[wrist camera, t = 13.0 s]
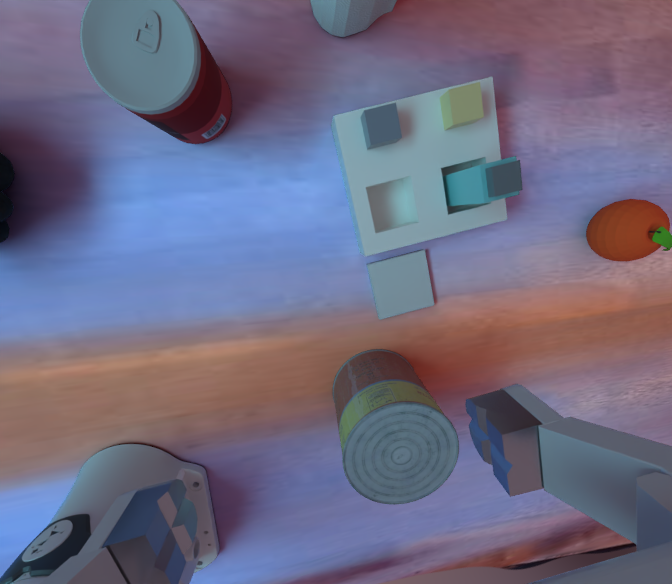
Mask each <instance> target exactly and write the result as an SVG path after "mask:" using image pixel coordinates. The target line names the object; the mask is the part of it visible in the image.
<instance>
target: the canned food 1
mask: <svg viewBox="0 0 672 584" xmlns="http://www.w3.org/2000/svg"><path fill="white" fill-rule="evenodd" d="M80 40H81V49H82V53H83V57H84V60H85V63H86V65H87V68H88V70H89V72H90V74H91V75H92V77H93V78H94V80H95V82H96V83H97V84H98V85H99V86H100V88H101V89H102V90H103V91H104V92H105V93H106V94H107V95H108V96H110V97H111V98H112V99H113V100H114V101H116V102H117V103H118V104H120V105H121V106H123V107H125V108H126V109H127V110H129V111H131V112H132V113H134V114H136V115H138V116H139V117H141V118H143V119H144V120H146V121H148V122H149V123H151V124H153V125H155V126H156V127H158V128H160V129H161V130H163V131H165V132H166V133H168V134H170V135H171V136H173V137H175V138H177V139H179V140H180V141H183V142H186V143H192V144H199V143H205V142H208V141H211V140H213V139H215V138H216V137H218V136H219V135H220V134H221V133H222V132H223V131H224V129H225V128H226V126H227V124H228V122H229V119H230V115H231V110H232V99H231V92H230V89H229V86H228V83H227V81H226V79H225V78H224V76H223V74H222V72H221V71H220V69H219V67H218V65H217V64H216V62H215V60H214V58H213V57H212V55H211V53H210V52H209V50H208V48H207V46H206V45H205V43H204V41H203V40H202V38H201V36H200V34H199V33H198V31H197V29H196V27H195V26H194V24H193V23H192V21H191V20H190V18H189V16H188V15H187V14H186V12H185V11H184V10H183V8H182V7H181V6H180V5H179V3H178V2H177V1H176V0H90V1H89V3H88V5H87V6H86V8H85V11H84V14H83V17H82V21H81V29H80Z"/></svg>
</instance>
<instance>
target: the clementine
mask: <svg viewBox="0 0 672 584" xmlns="http://www.w3.org/2000/svg"><path fill="white" fill-rule="evenodd" d="M669 228H670V223H669V218H668V216H667V214H666V213H665V212H664V211H663V210H662V209H661V208H660V207H659V206H657V205H655V204H653V203H651V202H648V201H646V200H636V199H629V200H623V201H618V202H614V203H612V204H610V205H608V206H606V207H604V208H602V209H601V210H600V211H598V212H597V213H596V214H595V216H594V217H593V218H592V219H591V220H590V222H589V224H588V227H587V231H586V237H587V241H588V244H589V245H590V247H591V249H592V250H593V251H594V252H595V253H597V254H598V255H599V256H601V257H604V258H606V259H609V260H613V261H632V260H636V259H640V258H643V257H646V256H648V255H650V254H651V253H653V252H654V251H656V250H657V249H658V248H660V247H661V245H662V246H664V247H666V248H667V249H664V251H668V250H670V248H671V247H672V235H671V234H670V232H669Z"/></svg>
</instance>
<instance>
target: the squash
mask: <svg viewBox="0 0 672 584" xmlns="http://www.w3.org/2000/svg"><path fill="white" fill-rule="evenodd" d="M14 174H15V173H14V170H13V166H12V164H11V162H10V161H9V160H8V159H7V158H6V157H5V156H4V155H3V154H1V153H0V242H3V241H4V240H5V239H6V238H7V237H8V235H9V226H8V224H7V222H6V221H5V219H6V218H8V217H9V216H10V215H11V214H12V211H13V204H12V202H11V200H10V199H9V198H8V197H7V196H6V195H5V194H4V193H2V192H1V191H3V190H5V189H7V188H8V187H9V186H10V184H11V183H12V181H13V179H14Z"/></svg>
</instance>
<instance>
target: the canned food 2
mask: <svg viewBox="0 0 672 584" xmlns="http://www.w3.org/2000/svg"><path fill="white" fill-rule="evenodd" d="M333 399H334V402H335V407H336V414H337V421H338V428H339V434H340V441H341V448H342V455H343V468H344V472H345V475H346V477H347V479H348V481H349V483H350V484H351V485H352V487H353V488H354V489H355V490H356V491H357V492H358V493H360V494H361V495H362V496H364V497H366V498H368V499H370V500H372V501H375V502H379V503H384V504H404V503H409V502H413V501H416V500H419V499H421V498H423V497H425V496H427V495H429V494H431V493H432V492H434V491H435V490H436V489H438V488H439V487H440V486H441V485H442V484H443V483H444V482H445V481H446V480H447V478H448V477H449V476H450V474H451V473H452V471H453V469H454V467H455V465H456V462H457V458H458V453H459V441H458V436H457V433H456V431H455V428H454V427H453V425H452V423H451V422H450V421H449V419H448V418H447V417H446V416H445V415H444V414H443V412H442V411H441V409H440V408H439V406H438V405H437V403H436V402H435V401H434V399H433V398H432V396H431V395H430V393H429V392H428V391H427V389H426V388H425V386H424V385H423V383H422V382H421V380H420V379H419V378H418V376H417V375H416V373H415V372H414V369H413V368H412V366H411V365H410V364H409V362H408V361H407V360H406V359H405V358H403V357H402V356H400V355H399V354H397V353H395V352H392V351H388V350H382V349H375V350H368V351H364V352H361V353H359V354H357V355H355V356H353V357H352V358H350V359H349V360H348V361H347V362H346V363H345V364H344V365H343V366H342V367H341V368H340V370H339V371H338V373H337V375H336V377H335V380H334V384H333Z"/></svg>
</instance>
